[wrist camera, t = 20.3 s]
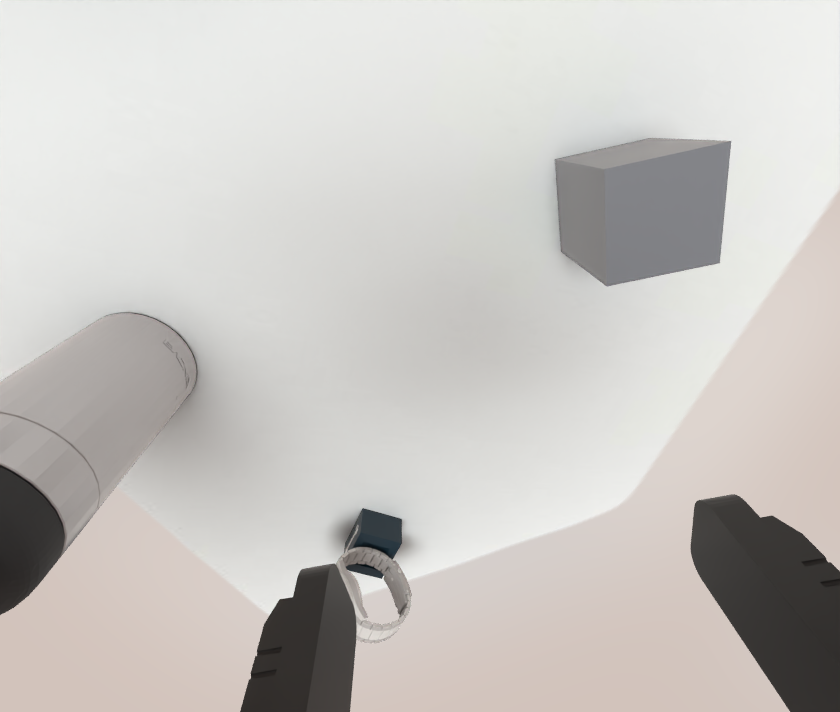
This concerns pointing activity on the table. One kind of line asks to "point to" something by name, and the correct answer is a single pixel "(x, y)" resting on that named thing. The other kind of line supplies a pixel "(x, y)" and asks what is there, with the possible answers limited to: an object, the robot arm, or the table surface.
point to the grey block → (643, 207)
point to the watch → (375, 570)
